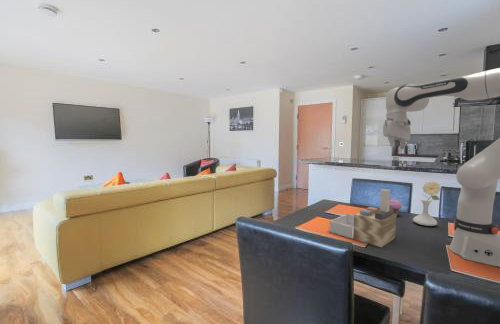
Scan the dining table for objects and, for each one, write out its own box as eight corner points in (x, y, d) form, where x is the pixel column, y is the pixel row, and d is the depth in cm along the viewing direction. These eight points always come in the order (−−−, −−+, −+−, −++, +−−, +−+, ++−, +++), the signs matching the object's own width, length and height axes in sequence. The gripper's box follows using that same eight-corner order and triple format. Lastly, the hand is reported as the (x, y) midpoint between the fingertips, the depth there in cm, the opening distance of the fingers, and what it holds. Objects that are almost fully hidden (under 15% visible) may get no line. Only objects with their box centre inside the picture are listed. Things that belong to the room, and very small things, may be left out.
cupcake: (386, 216, 158) (387, 200, 157) (383, 212, 166) (384, 197, 165) (402, 217, 155) (403, 201, 154) (399, 213, 163) (399, 198, 162)
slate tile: (371, 214, 122) (372, 211, 122) (368, 216, 119) (368, 212, 119) (363, 212, 125) (363, 209, 125) (359, 214, 122) (359, 210, 122)
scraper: (393, 214, 122) (394, 188, 121) (381, 219, 114) (383, 192, 113) (386, 212, 125) (387, 187, 123) (374, 218, 116) (376, 191, 115)
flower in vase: (407, 222, 147) (410, 179, 145) (422, 220, 151) (425, 178, 148) (429, 229, 135) (433, 183, 133) (445, 227, 139) (448, 182, 136)
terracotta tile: (378, 211, 127) (378, 208, 126) (374, 213, 124) (374, 209, 124) (369, 209, 130) (370, 206, 129) (366, 211, 127) (366, 208, 127)
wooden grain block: (395, 238, 124) (396, 214, 123) (381, 247, 113) (382, 221, 112) (368, 230, 133) (369, 208, 132) (353, 238, 123) (354, 214, 122)
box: (368, 230, 134) (368, 219, 134) (351, 238, 123) (352, 226, 122) (347, 224, 143) (347, 213, 143) (329, 232, 132) (329, 220, 131)
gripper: (392, 115, 119) (393, 144, 118) (412, 122, 131) (414, 149, 129) (378, 118, 125) (379, 146, 123) (399, 125, 136) (400, 150, 134)
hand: (397, 147), depth 126 cm, fingers open, 8 cm apart
